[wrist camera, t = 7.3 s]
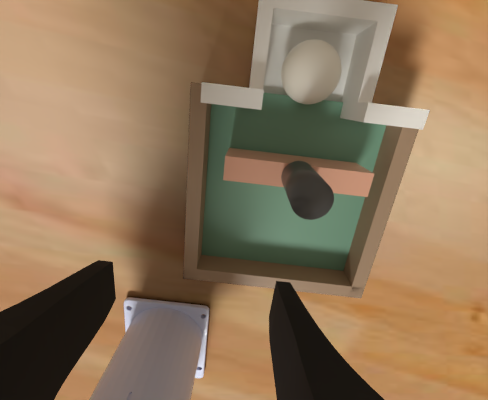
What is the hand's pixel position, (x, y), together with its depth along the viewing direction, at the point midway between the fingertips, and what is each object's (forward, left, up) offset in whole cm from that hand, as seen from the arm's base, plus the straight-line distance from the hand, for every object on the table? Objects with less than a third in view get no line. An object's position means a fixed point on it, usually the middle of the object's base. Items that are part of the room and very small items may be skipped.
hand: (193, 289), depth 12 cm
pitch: (+4, -5, -10) cm, 12 cm away
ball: (+10, -5, -8) cm, 14 cm away
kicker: (+4, -5, -9) cm, 11 cm away
